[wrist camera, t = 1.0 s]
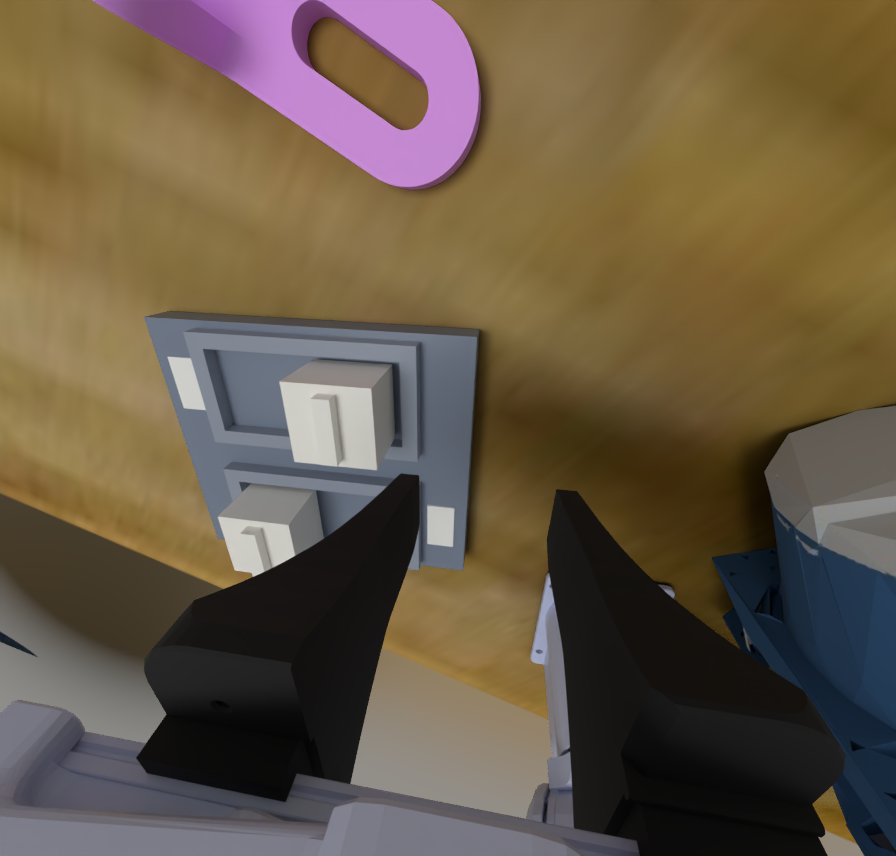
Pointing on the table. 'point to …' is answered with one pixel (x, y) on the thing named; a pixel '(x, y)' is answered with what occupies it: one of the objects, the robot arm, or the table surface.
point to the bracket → (318, 100)
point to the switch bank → (265, 426)
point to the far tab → (270, 526)
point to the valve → (833, 601)
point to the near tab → (340, 413)
